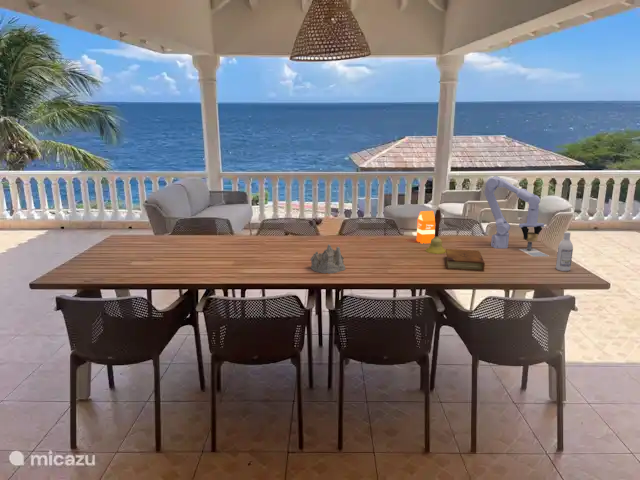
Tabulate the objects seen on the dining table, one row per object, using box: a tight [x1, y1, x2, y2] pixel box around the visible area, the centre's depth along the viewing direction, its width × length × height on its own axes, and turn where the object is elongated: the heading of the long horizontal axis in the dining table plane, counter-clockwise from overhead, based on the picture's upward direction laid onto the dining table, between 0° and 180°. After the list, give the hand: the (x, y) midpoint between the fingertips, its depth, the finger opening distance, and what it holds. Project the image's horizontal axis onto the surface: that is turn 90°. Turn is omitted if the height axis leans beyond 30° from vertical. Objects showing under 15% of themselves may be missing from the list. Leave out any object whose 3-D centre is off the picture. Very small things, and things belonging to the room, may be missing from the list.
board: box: [518, 248, 549, 257], centre depth 293 cm, size 10×17×1 cm, turn 7°
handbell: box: [425, 209, 446, 255], centre depth 296 cm, size 12×12×25 cm
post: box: [526, 241, 533, 251], centre depth 298 cm, size 2×2×6 cm
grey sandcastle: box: [310, 244, 347, 274], centre depth 263 cm, size 16×16×15 cm
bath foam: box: [555, 231, 574, 272], centre depth 262 cm, size 7×7×20 cm
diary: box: [444, 248, 486, 272], centre depth 273 cm, size 23×19×6 cm
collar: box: [522, 231, 539, 242], centre depth 296 cm, size 6×6×4 cm
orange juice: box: [416, 210, 436, 245], centre depth 319 cm, size 8×9×20 cm
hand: (530, 239), depth 296 cm, fingers closed on collar, 6 cm apart
